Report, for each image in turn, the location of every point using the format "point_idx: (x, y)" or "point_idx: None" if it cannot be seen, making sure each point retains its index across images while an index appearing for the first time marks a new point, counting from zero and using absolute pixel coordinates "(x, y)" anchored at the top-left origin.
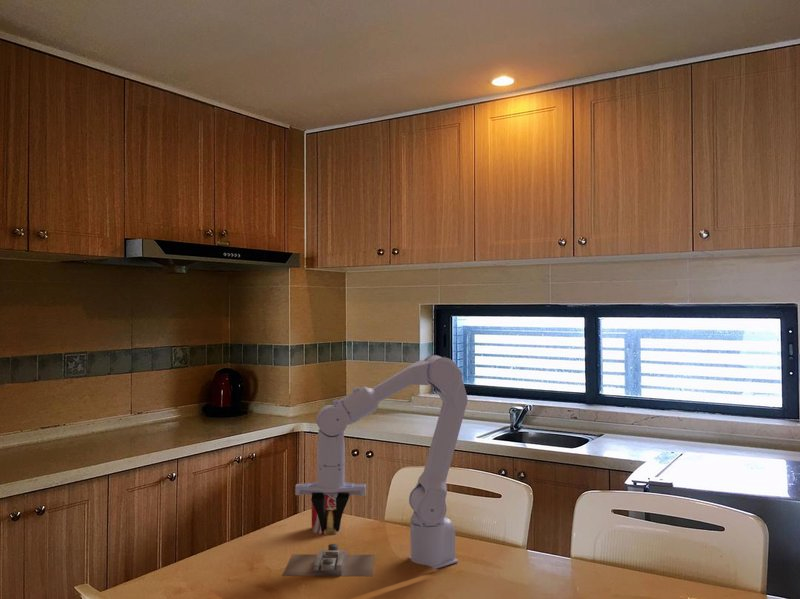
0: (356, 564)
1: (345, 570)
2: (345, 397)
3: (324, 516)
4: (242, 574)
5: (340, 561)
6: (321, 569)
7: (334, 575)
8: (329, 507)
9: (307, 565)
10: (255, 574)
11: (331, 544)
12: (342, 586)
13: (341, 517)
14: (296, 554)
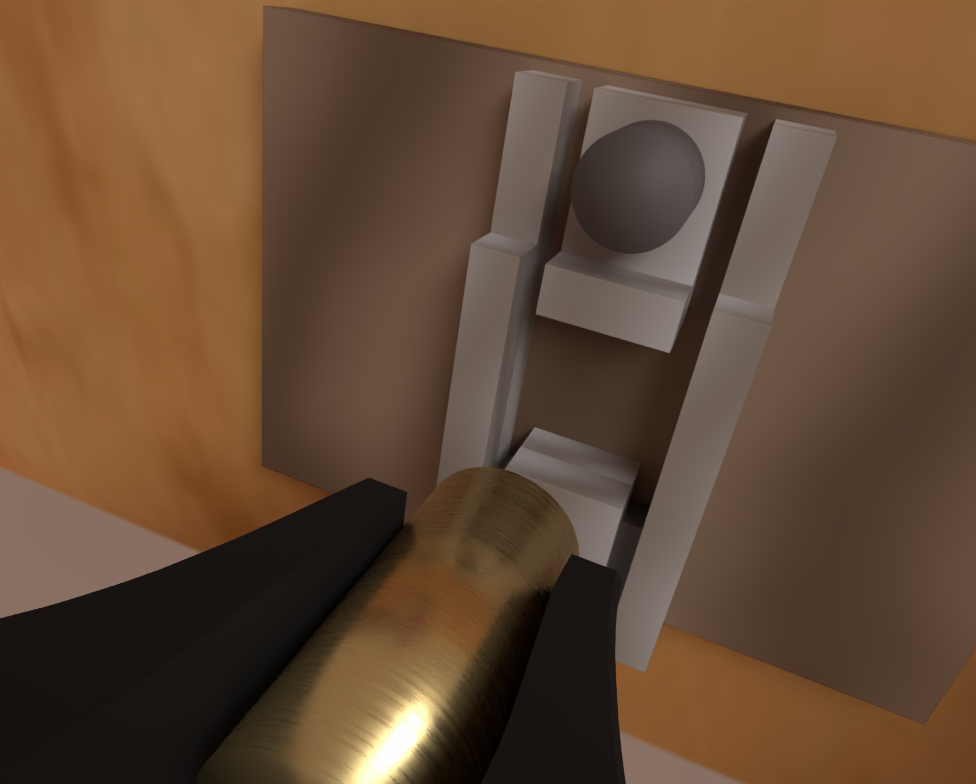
0: (863, 445)
1: (715, 538)
2: None
3: (282, 661)
4: (50, 274)
5: (651, 595)
6: None
7: None
8: None
9: (410, 335)
10: (117, 296)
11: (615, 155)
12: (656, 670)
13: (612, 701)
14: (300, 18)
